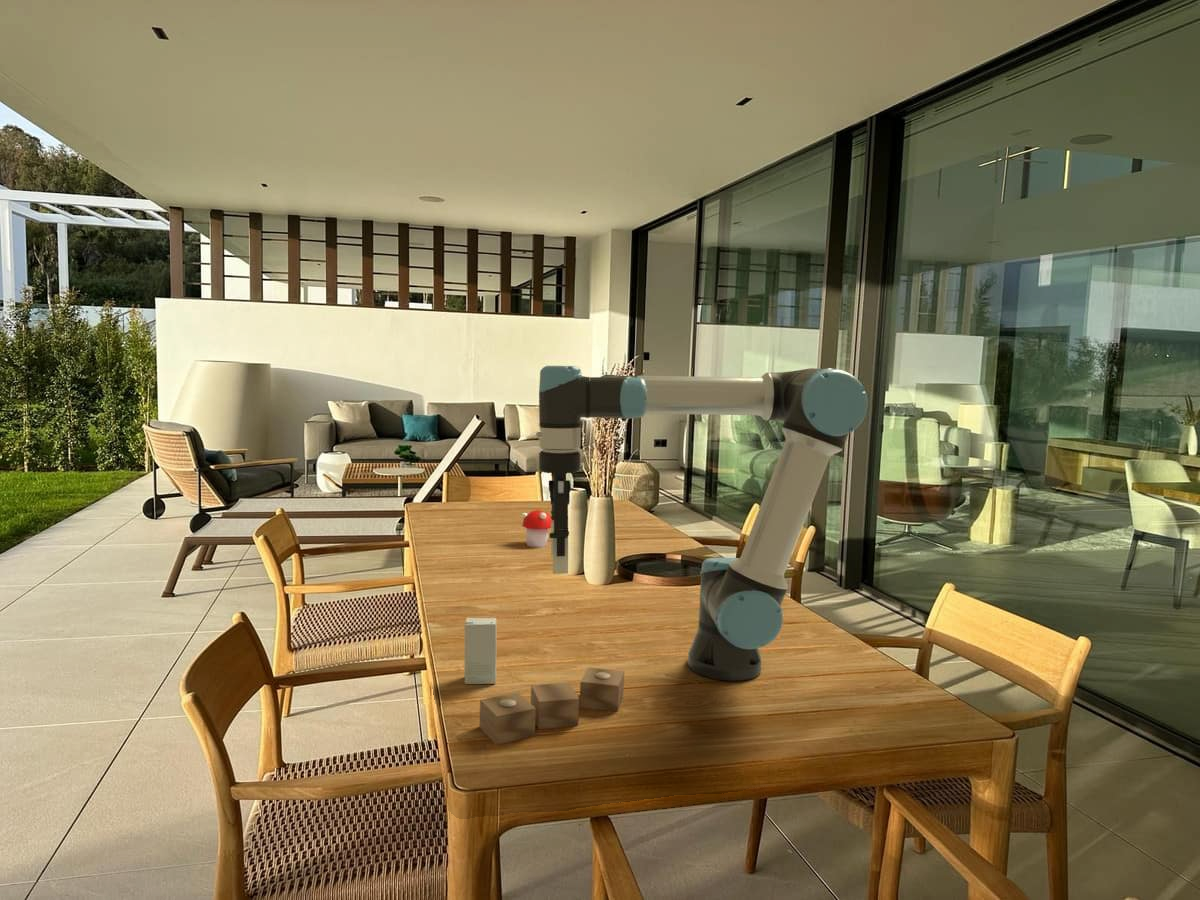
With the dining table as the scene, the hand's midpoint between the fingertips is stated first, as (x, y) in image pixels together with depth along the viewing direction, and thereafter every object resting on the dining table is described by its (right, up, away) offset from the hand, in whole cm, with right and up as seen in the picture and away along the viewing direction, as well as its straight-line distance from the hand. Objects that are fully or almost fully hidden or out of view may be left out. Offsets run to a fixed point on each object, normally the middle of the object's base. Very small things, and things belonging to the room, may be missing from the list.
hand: (559, 563), depth 149 cm
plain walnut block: (0, -26, -9) cm, 27 cm away
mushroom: (-13, -11, +120) cm, 121 cm away
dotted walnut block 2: (+8, -26, -1) cm, 27 cm away
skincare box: (-16, -24, +6) cm, 29 cm away
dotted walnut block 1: (-8, -26, -14) cm, 31 cm away
